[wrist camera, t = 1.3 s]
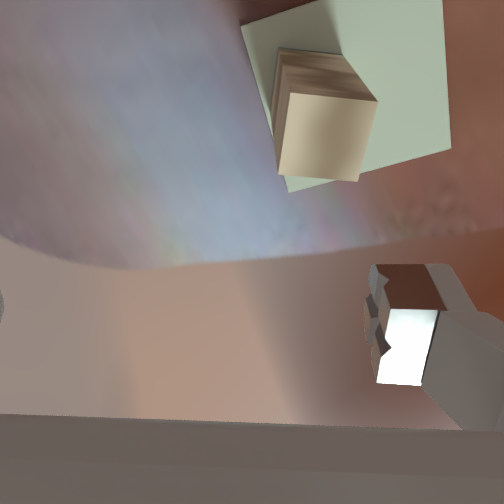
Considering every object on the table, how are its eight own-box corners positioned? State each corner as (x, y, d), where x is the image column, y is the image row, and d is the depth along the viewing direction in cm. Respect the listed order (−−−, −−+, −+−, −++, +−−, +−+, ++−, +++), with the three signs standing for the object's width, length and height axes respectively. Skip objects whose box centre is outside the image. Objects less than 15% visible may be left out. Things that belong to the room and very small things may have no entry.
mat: (240, 25, 38) (240, 26, 38) (437, -41, 36) (439, -41, 36) (288, 190, 47) (288, 192, 47) (449, 146, 45) (451, 148, 44)
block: (269, 111, 42) (278, 174, 32) (278, 47, 39) (290, 92, 28) (329, 117, 43) (357, 181, 32) (342, 54, 39) (378, 101, 29)
